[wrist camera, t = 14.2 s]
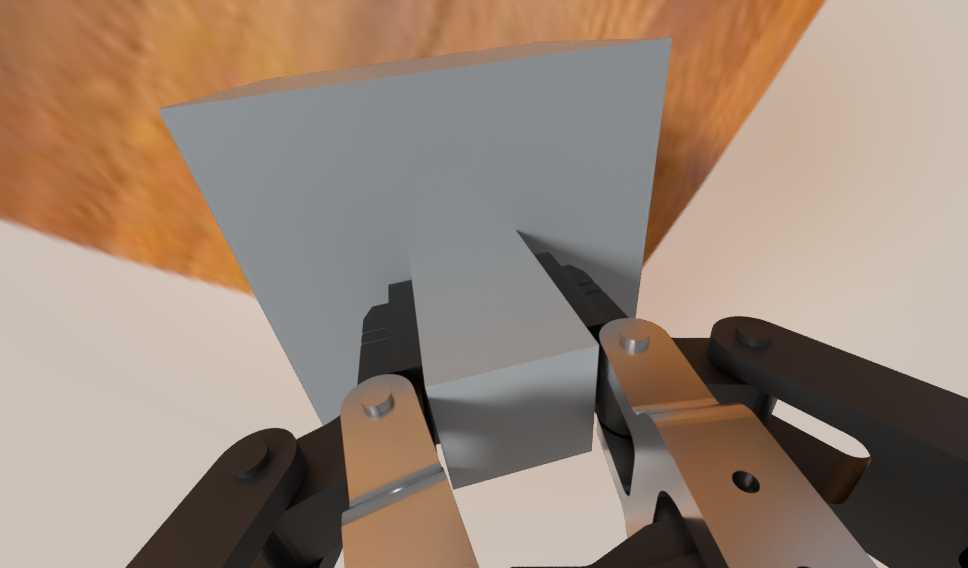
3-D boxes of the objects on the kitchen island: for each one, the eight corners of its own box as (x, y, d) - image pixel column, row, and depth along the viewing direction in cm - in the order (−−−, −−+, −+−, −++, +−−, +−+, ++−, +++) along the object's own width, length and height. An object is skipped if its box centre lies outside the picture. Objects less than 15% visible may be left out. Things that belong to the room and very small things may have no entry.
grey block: (268, 79, 15) (-113, 182, 3) (542, 41, 16) (917, 29, 5) (352, 309, 21) (315, 626, 10) (547, 268, 22) (720, 500, 11)
